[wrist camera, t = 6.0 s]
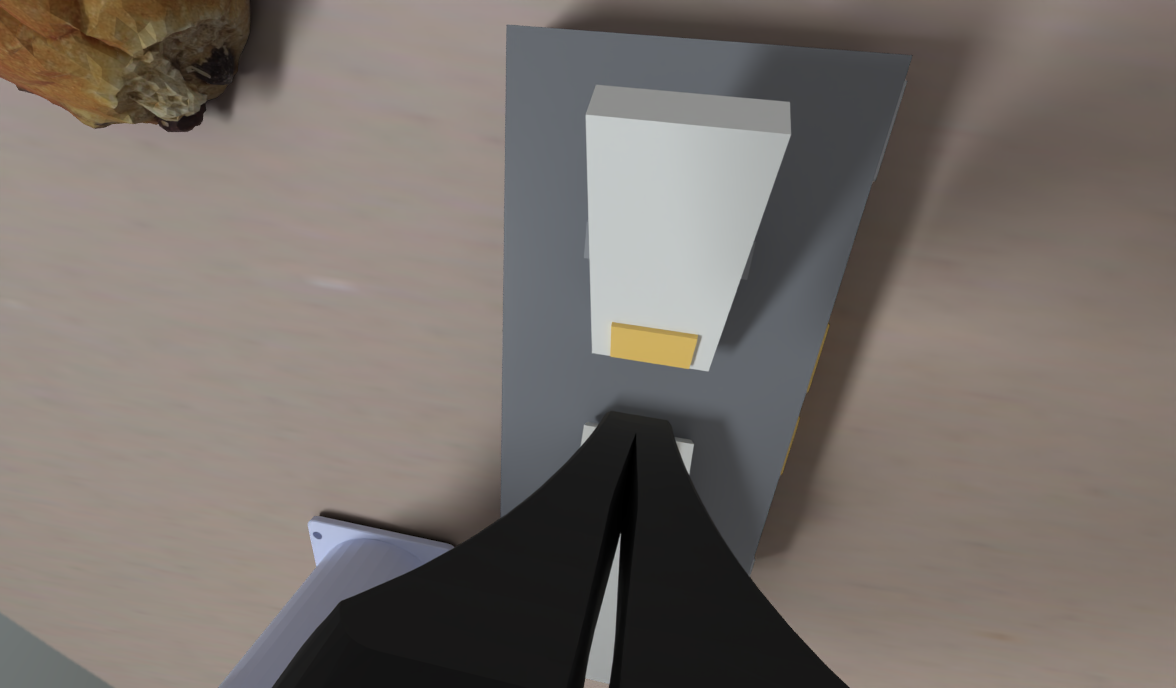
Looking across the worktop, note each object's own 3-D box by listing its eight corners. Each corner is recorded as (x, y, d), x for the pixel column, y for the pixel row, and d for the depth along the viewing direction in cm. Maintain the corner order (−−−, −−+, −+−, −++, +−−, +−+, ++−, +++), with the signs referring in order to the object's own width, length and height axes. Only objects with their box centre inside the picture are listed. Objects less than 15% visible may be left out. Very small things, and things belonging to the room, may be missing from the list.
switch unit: (735, 568, 23) (743, 653, 19) (517, 523, 24) (487, 595, 20) (884, 64, 14) (951, 49, 11) (533, 37, 15) (486, 14, 12)
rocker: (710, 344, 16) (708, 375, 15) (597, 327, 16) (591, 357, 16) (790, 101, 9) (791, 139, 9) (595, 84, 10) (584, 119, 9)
